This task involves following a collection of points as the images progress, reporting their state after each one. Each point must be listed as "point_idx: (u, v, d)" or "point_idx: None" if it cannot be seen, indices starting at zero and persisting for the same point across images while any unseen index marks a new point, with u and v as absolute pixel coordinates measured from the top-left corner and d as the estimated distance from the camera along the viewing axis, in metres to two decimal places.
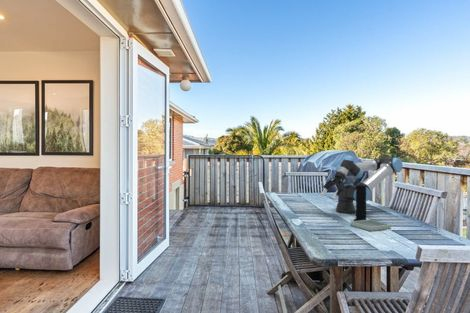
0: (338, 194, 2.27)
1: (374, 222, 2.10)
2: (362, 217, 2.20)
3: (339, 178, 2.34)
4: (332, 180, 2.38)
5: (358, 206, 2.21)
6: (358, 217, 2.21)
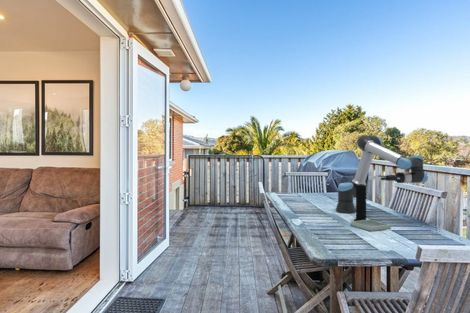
0: None
1: (374, 222, 2.10)
2: (362, 217, 2.20)
3: None
4: (393, 180, 2.19)
5: (358, 206, 2.21)
6: (358, 217, 2.21)
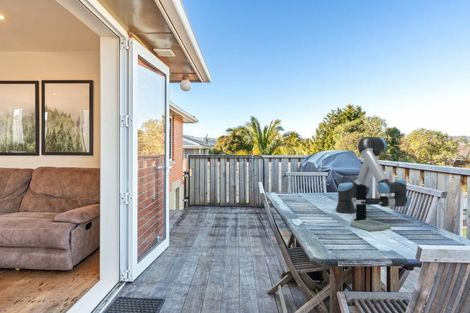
0: None
1: (374, 222, 2.10)
2: (362, 217, 2.20)
3: None
4: None
5: (358, 206, 2.21)
6: (358, 217, 2.21)
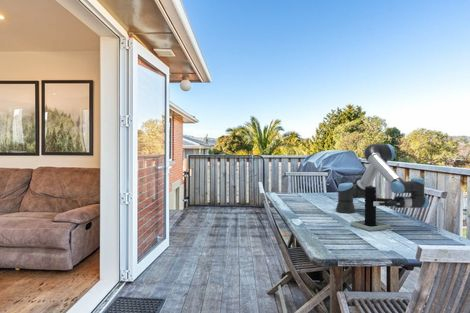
0: None
1: None
2: (372, 222, 2.01)
3: None
4: None
5: (367, 210, 2.02)
6: (367, 222, 2.02)
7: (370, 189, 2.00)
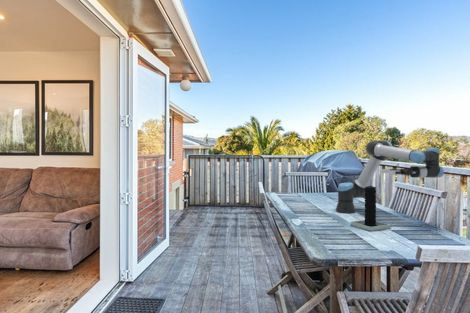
0: None
1: None
2: (372, 222, 2.01)
3: None
4: None
5: (367, 210, 2.02)
6: (367, 222, 2.02)
7: (370, 189, 2.01)
